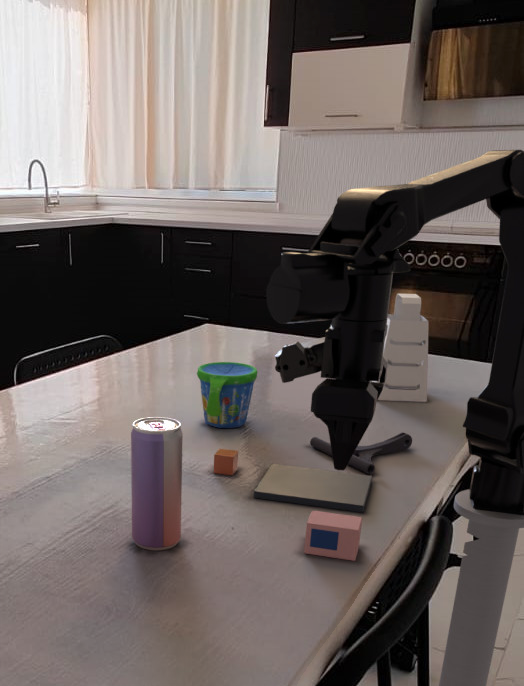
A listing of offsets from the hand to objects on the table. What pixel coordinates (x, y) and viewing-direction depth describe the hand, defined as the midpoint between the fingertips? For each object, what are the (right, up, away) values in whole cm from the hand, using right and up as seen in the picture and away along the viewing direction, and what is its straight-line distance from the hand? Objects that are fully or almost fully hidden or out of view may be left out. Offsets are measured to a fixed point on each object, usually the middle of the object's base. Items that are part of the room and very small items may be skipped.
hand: (344, 456), depth 88 cm
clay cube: (-11, 0, +30) cm, 32 cm away
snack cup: (-10, +10, +53) cm, 54 cm away
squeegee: (+13, +3, +38) cm, 40 cm away
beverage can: (-22, -10, +7) cm, 25 cm away
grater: (+28, +18, +73) cm, 80 cm away
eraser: (0, -11, +5) cm, 12 cm away
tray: (+1, -3, +23) cm, 23 cm away
